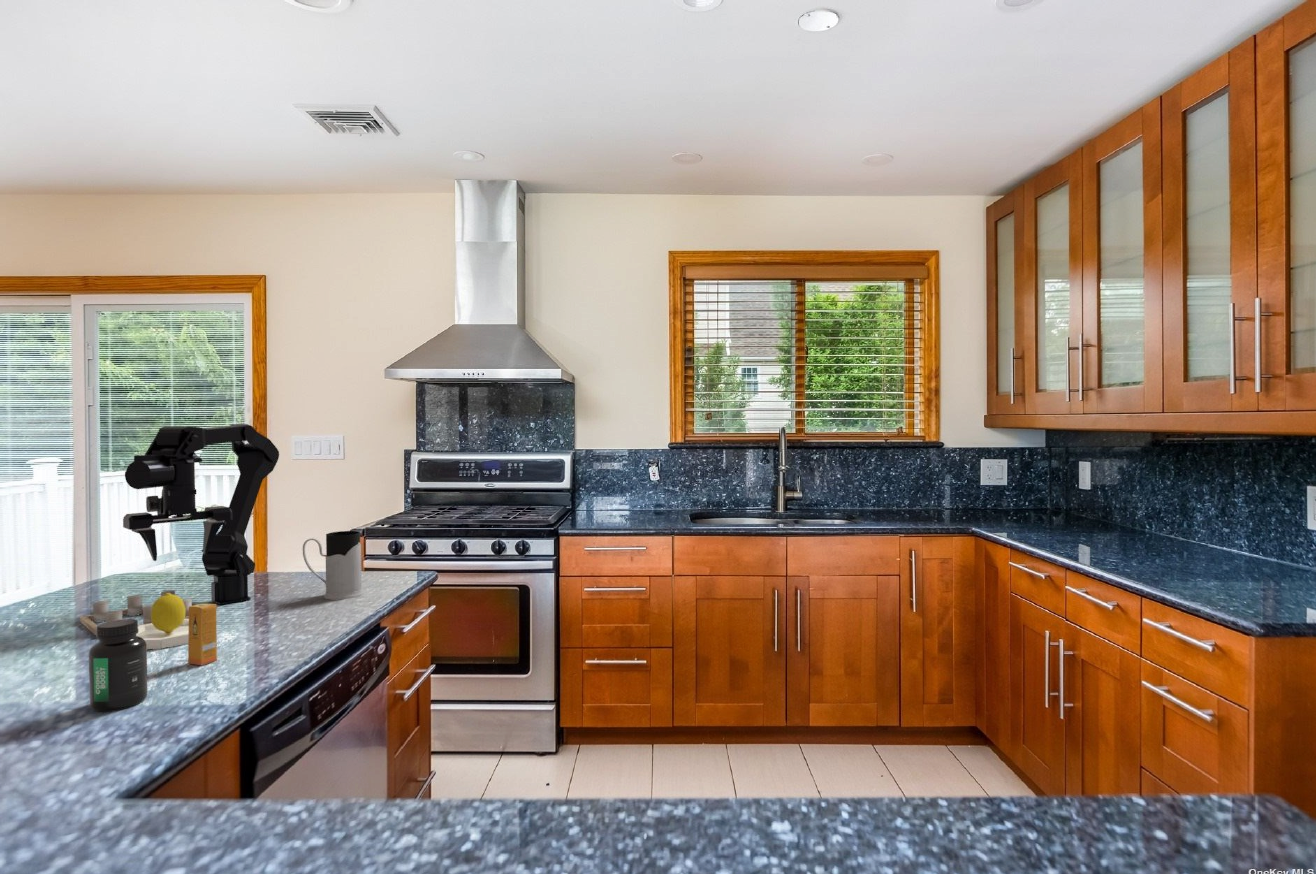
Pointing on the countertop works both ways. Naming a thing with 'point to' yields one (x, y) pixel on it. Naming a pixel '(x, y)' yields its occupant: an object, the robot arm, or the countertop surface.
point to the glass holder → (341, 564)
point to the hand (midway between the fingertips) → (180, 557)
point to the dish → (164, 636)
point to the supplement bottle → (117, 667)
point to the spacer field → (124, 611)
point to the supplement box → (202, 634)
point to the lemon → (168, 613)
